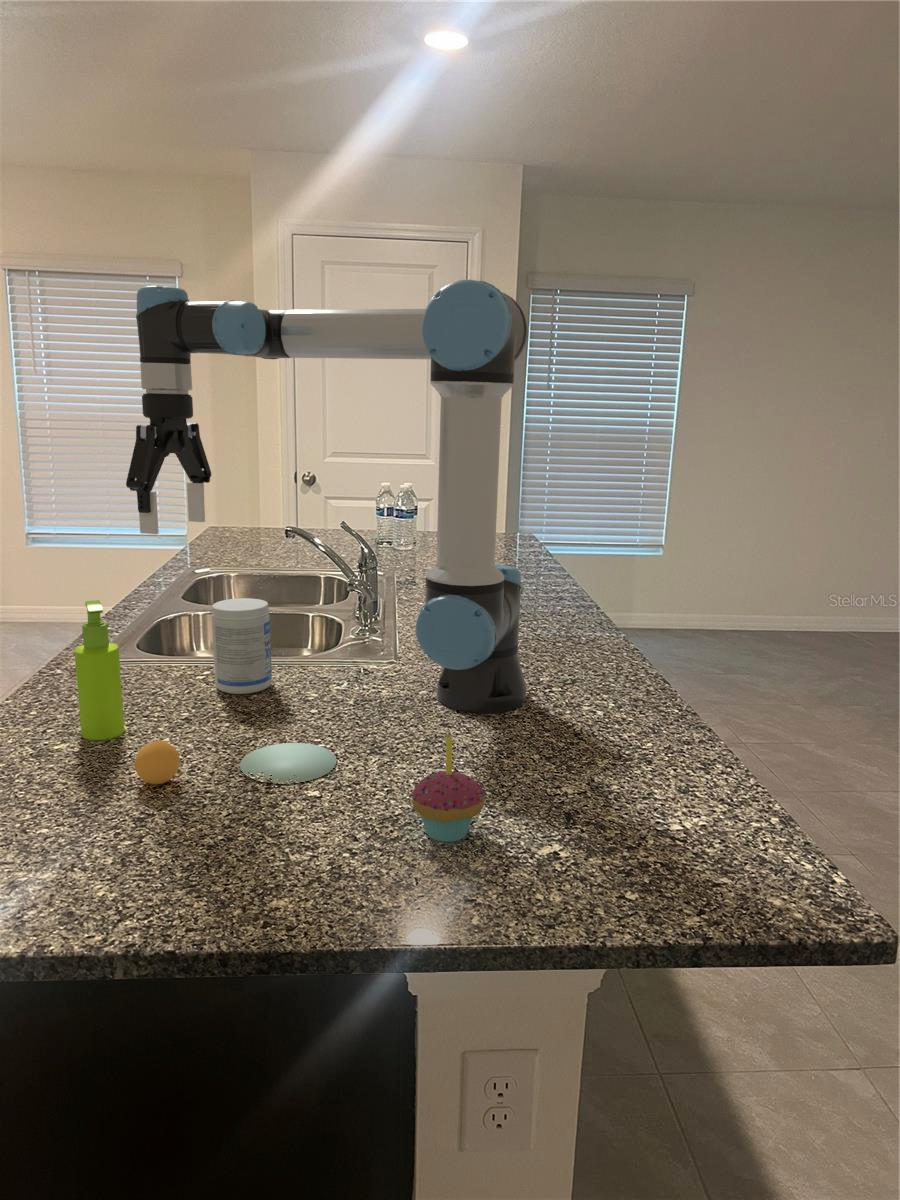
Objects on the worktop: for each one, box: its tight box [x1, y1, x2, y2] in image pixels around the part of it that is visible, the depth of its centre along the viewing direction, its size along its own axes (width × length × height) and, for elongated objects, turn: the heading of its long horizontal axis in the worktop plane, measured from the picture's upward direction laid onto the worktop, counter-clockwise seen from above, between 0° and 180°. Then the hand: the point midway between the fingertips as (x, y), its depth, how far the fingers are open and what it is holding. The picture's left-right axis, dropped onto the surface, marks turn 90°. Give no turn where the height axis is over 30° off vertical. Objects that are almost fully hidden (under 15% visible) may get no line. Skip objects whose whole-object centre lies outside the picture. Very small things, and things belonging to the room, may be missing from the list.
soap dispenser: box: [73, 599, 125, 741], centre depth 120 cm, size 6×7×20 cm
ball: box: [134, 740, 181, 785], centre depth 108 cm, size 6×6×6 cm
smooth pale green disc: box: [239, 742, 337, 783], centre depth 115 cm, size 13×13×1 cm
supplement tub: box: [211, 597, 273, 695], centre depth 142 cm, size 10×10×15 cm
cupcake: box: [411, 729, 486, 843], centre depth 96 cm, size 9×8×12 cm
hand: (174, 527), depth 135 cm, fingers open, 13 cm apart
